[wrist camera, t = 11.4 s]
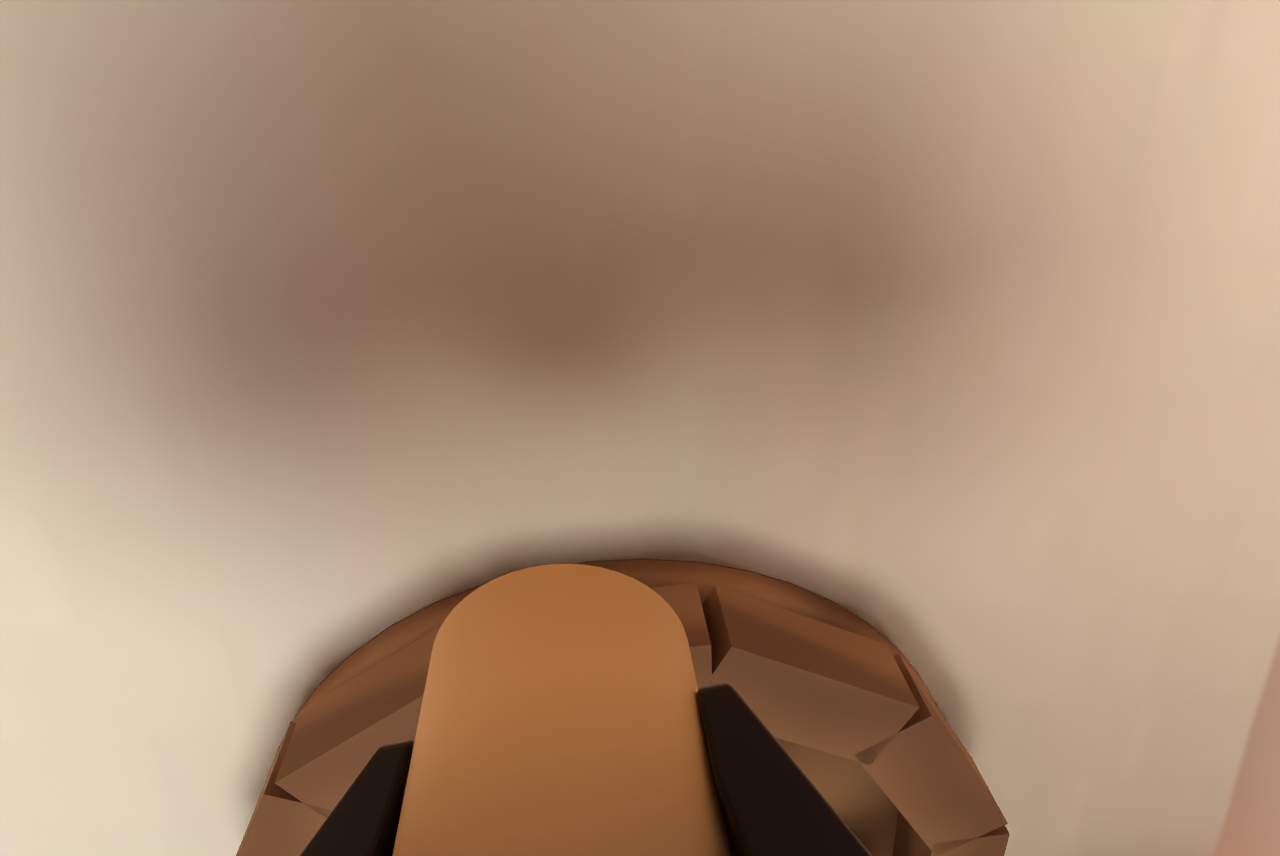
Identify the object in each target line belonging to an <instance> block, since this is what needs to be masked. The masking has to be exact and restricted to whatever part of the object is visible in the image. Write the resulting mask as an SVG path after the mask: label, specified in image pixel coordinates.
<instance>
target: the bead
mask: <svg viewBox="0 0 1280 856" xmlns="http://www.w3.org/2000/svg"><path fill="white" fill-rule="evenodd" d="M697 691H698V687H697V682H696V677H695V673H694V668H693V663H692V658H691V653H690V648H689V643H688V639H687V636H686V633H685V630H684V627H683V625H682V623H681V621H680V619H679V617H678V616H677V614H676V613H675V612H674V610H673V609H672V608H671V606H670V605H669V604H668V603H667V602H666V601H665V600H664V599H663V598H662V597H661V596H660V595H659V594H657V593H656V592H655V591H653V590H652V589H651V588H649V587H648V586H647V585H645V584H643V583H641V582H639V581H637V580H636V579H634V578H632V577H629V576H627V575H624V574H622V573H619V572H616V571H613V570H609V569H605V568H602V567H596V566H590V565H583V564H548V565H541V566H535V567H529V568H525V569H521V570H518V571H514V572H511V573H508V574H506V575H503V576H501V577H498V578H496V579H494V580H492V581H490V582H488V583H486V584H484V585H482V586H481V587H479V588H478V589H476V590H475V591H473V592H472V593H471V594H469V595H468V596H466V597H465V598H464V599H463V600H462V601H461V602H460V603H459V604H458V605H457V606H456V607H455V608H454V609H453V610H452V611H451V613H450V614H449V615H448V616H447V617H446V619H445V620H444V622H443V624H442V626H441V627H440V629H439V631H438V633H437V636H436V638H435V641H434V644H433V649H432V654H431V659H430V664H429V669H428V674H427V680H426V685H425V690H424V695H423V700H422V705H421V711H420V716H419V721H418V726H417V731H416V736H415V742H414V747H413V752H412V757H411V762H410V767H409V773H408V778H407V783H406V788H405V793H404V798H403V804H402V809H401V814H400V819H399V824H398V829H397V835H396V840H395V845H394V850H393V855H392V856H732V853H731V848H730V843H729V839H728V835H727V831H726V827H725V823H724V820H723V816H722V812H721V808H720V804H719V800H718V796H717V792H716V788H715V783H714V778H713V773H712V769H711V764H710V759H709V754H708V749H707V744H706V739H705V734H704V729H703V724H702V719H701V714H700V709H699V704H698V699H697Z"/></svg>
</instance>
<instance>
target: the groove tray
mask: <svg viewBox="0 0 1280 856" xmlns="http://www.w3.org/2000/svg"><path fill="white" fill-rule="evenodd" d="M578 564H583V565H590V566H596V567H602V568H605V569H609V570H613V571H616V572H619V573H622V574H624V575H627V576H629V577H632V578H634V579H636V580H637V581H639V582H641V583H643V584H645V585H647V586H648V587H649V588H651V589H652V590H653V591H655V592H656V593H657V594H659V595H660V596H661V597H662V598H663V599H664V600H665V601H666V602H667V603H668V604H669V605H670V606H671V608H672V609H673V610H674V612H675V613H676V614H677V616H678V617H679V619H680V621H681V623H682V625H683V627H684V630H685V633H686V636H687V639H688V643H689V648H690V653H691V658H692V663H693V668H694V673H695V677H696V682H697V687H698V689H699V688H701V687H704V686H710V685H715V684H721V683H728V684H730V685H731V686H733V687H734V688H735V690H736V691H737V692H738V693H739V695H740V696H741V697H742V698H743V699H744V701H745V702H746V703H747V704H748V705H749V707H750V708H751V709H752V710H753V712H754V713H755V714H756V715H757V716H758V718H759V719H760V720H761V721H762V722H763V724H764V725H765V726H766V727H767V729H768V730H769V731H770V732H771V733H772V735H773V736H774V737H775V738H776V740H777V741H778V742H779V743H780V744H781V746H782V747H783V748H784V749H785V750H786V752H787V753H788V754H789V755H790V757H791V758H792V759H793V760H794V761H795V763H796V764H797V765H798V766H799V767H800V769H801V770H802V771H803V772H804V774H805V775H806V776H807V777H808V778H809V780H810V781H811V782H812V783H813V785H814V786H815V787H816V788H817V789H818V791H819V792H820V793H821V794H822V795H823V797H824V798H825V799H826V800H827V802H828V803H829V804H830V805H831V806H832V808H833V809H834V810H835V811H836V812H837V814H838V815H839V816H840V817H841V819H842V820H843V821H844V822H845V823H846V825H847V826H848V827H849V828H850V830H851V831H852V832H853V833H854V834H855V836H856V837H857V838H858V839H859V840H860V842H861V843H862V844H863V845H864V847H865V848H866V849H867V850H868V851H869V853H870V854H871V855H872V856H1004V854H1005V850H1006V846H1007V842H1008V838H1009V832H1008V830H1007V828H1006V827H1005V825H1006V824H1008V823H1007V821H1006V820H1005V818H1004V816H1003V814H1002V812H1001V810H1000V809H999V807H998V805H997V803H996V801H995V800H994V798H993V796H992V794H991V792H990V790H989V789H988V787H987V785H986V783H985V781H984V779H983V778H982V776H981V774H980V772H979V770H978V769H977V767H976V765H975V763H974V761H973V759H972V758H971V756H970V755H969V753H968V752H967V750H966V749H965V748H964V746H963V745H962V743H961V742H960V740H959V739H958V737H957V736H956V735H955V733H954V732H953V730H952V729H951V727H950V726H949V725H948V723H947V722H946V720H945V719H944V717H943V716H942V714H941V713H940V711H939V710H938V708H937V706H936V704H935V702H934V700H933V699H932V697H931V695H930V693H929V691H928V690H927V688H926V686H925V684H924V683H923V681H922V679H921V677H920V675H919V674H918V673H917V671H916V670H915V669H914V668H913V667H912V665H911V664H910V663H909V662H908V661H907V659H906V658H905V657H904V656H903V655H902V653H901V652H900V651H899V650H898V649H897V647H895V646H894V645H893V644H892V643H891V642H889V641H888V640H887V639H886V638H885V637H884V636H882V635H881V634H880V633H879V632H878V631H876V630H875V629H874V628H873V627H872V626H871V625H869V624H868V623H867V622H865V621H864V620H862V619H860V618H859V617H857V616H855V615H854V614H852V613H850V612H849V611H847V610H846V609H844V608H842V607H841V606H839V605H837V604H836V603H834V602H832V601H830V600H828V599H826V598H823V597H821V596H819V595H816V594H814V593H812V592H809V591H807V590H805V589H803V588H800V587H798V586H796V585H793V584H791V583H787V582H784V581H780V580H777V579H774V578H770V577H767V576H763V575H760V574H756V573H753V572H749V571H746V570H740V569H734V568H728V567H722V566H716V565H710V564H704V563H698V562H686V561H667V560H649V559H635V560H616V561H597V562H585V563H578ZM483 585H484V584H483ZM481 586H482V585H480V586H477V587H475V588H472V589H470V590H467V591H465V592H462V593H459V594H457V595H454V596H452V597H449V598H447V599H444V600H442V601H439V602H437V603H434V604H432V605H430V606H428V607H426V608H424V609H423V610H421V611H419V612H417V613H415V614H413V615H411V616H410V617H408V618H406V619H404V620H402V621H400V622H398V623H396V624H395V625H393V626H391V627H389V628H388V629H386V630H385V631H384V632H382V633H381V634H379V635H378V636H376V637H375V638H374V639H372V640H371V641H369V642H368V643H367V644H365V645H364V646H362V647H361V648H360V649H358V650H357V651H355V652H354V653H353V654H351V655H350V656H349V657H348V658H347V659H346V660H345V661H344V662H343V663H342V664H341V665H340V666H339V667H338V668H336V669H335V670H334V671H333V672H332V673H331V674H330V675H329V676H328V677H327V678H326V679H325V680H324V681H323V682H322V683H321V684H320V685H319V686H318V687H317V689H316V690H315V691H314V693H313V694H312V695H311V696H310V698H309V699H308V700H307V702H306V703H305V704H304V706H303V707H302V708H301V709H300V711H299V712H298V713H297V715H296V716H295V718H294V720H293V722H291V723H290V725H289V728H288V730H287V733H286V735H285V737H284V739H283V741H282V743H281V745H280V747H279V749H278V752H277V754H276V757H275V760H274V762H273V765H272V767H271V770H270V773H269V775H268V778H267V781H266V783H265V786H264V789H263V791H262V793H261V796H260V798H259V801H258V803H257V806H256V808H255V810H254V813H253V815H252V818H251V820H250V823H249V825H248V827H247V830H246V832H245V835H244V837H243V840H242V842H241V844H240V847H239V850H238V852H237V855H236V856H299V855H300V854H301V852H302V851H303V849H304V848H305V847H306V845H307V844H308V843H309V841H310V840H311V838H312V837H313V836H314V834H315V833H316V832H317V830H318V829H319V828H320V826H321V825H322V823H323V822H324V821H325V819H326V818H327V817H328V815H329V814H330V812H331V811H332V810H333V808H334V807H335V806H336V804H337V803H338V802H339V800H340V799H341V797H342V796H343V795H344V793H345V792H346V791H347V789H348V788H349V786H350V785H351V784H352V782H353V781H354V780H355V778H356V777H357V776H358V774H359V773H360V771H361V770H362V769H363V767H364V766H365V765H366V763H367V762H368V761H369V759H370V758H371V756H372V755H373V754H374V752H375V751H376V750H377V749H378V748H379V747H380V746H382V745H384V744H389V743H395V742H400V741H406V740H413V741H415V736H416V731H417V726H418V721H419V716H420V711H421V705H422V700H423V695H424V690H425V685H426V680H427V674H428V669H429V664H430V659H431V654H432V649H433V644H434V641H435V638H436V636H437V633H438V631H439V629H440V627H441V626H442V624H443V622H444V620H445V619H446V617H447V616H448V615H449V614H450V613H451V611H452V610H453V609H454V608H455V607H456V606H457V605H458V604H459V603H460V602H461V601H462V600H463V599H464V598H465V597H466V596H468V595H469V594H471V593H472V592H473V591H475V590H476V589H478V588H479V587H481Z"/></svg>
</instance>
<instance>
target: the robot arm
mask: <svg viewBox="0 0 1280 856" xmlns="http://www.w3.org/2000/svg"><path fill="white" fill-rule="evenodd" d="M697 699H698V704H699V709H700V714H701V719H702V724H703V729H704V734H705V739H706V744H707V749H708V754H709V759H710V764H711V769H712V773H713V778H714V783H715V788H716V792H717V796H718V800H719V804H720V808H721V812H722V816H723V820H724V823H725V827H726V831H727V835H728V839H729V843H730V848H731V853H732V856H872V855H871V854H870V853H869V851H868V850H867V849H866V848H865V847H864V845H863V844H862V843H861V842H860V840H859V839H858V838H857V837H856V836H855V834H854V833H853V832H852V831H851V830H850V828H849V827H848V826H847V825H846V823H845V822H844V821H843V820H842V819H841V817H840V816H839V815H838V814H837V812H836V811H835V810H834V809H833V808H832V806H831V805H830V804H829V803H828V802H827V800H826V799H825V798H824V797H823V795H822V794H821V793H820V792H819V791H818V789H817V788H816V787H815V786H814V785H813V783H812V782H811V781H810V780H809V778H808V777H807V776H806V775H805V774H804V772H803V771H802V770H801V769H800V767H799V766H798V765H797V764H796V763H795V761H794V760H793V759H792V758H791V757H790V755H789V754H788V753H787V752H786V750H785V749H784V748H783V747H782V746H781V744H780V743H779V742H778V741H777V740H776V738H775V737H774V736H773V735H772V733H771V732H770V731H769V730H768V729H767V727H766V726H765V725H764V724H763V722H762V721H761V720H760V719H759V718H758V716H757V715H756V714H755V713H754V712H753V710H752V709H751V708H750V707H749V705H748V704H747V703H746V702H745V701H744V699H743V698H742V697H741V696H740V695H739V693H738V692H737V691H736V690H735V688H734V687H733V686H731V685H730V684H728V683H721V684H715V685H710V686H704V687H701V688H699V689H698V691H697ZM414 742H415V741H413V740H406V741H400V742H395V743H389V744H384V745H382V746H380V747H379V748H378V749H377V750H376V751H375V752H374V754H373V755H372V756H371V758H370V759H369V761H368V762H367V763H366V765H365V766H364V767H363V769H362V770H361V771H360V773H359V774H358V776H357V777H356V778H355V780H354V781H353V782H352V784H351V785H350V786H349V788H348V789H347V791H346V792H345V793H344V795H343V796H342V797H341V799H340V800H339V802H338V803H337V804H336V806H335V807H334V808H333V810H332V811H331V812H330V814H329V815H328V817H327V818H326V819H325V821H324V822H323V823H322V825H321V826H320V828H319V829H318V830H317V832H316V833H315V834H314V836H313V837H312V838H311V840H310V841H309V843H308V844H307V845H306V847H305V848H304V849H303V851H302V852H301V854H300V855H299V856H392V855H393V850H394V845H395V840H396V835H397V829H398V824H399V819H400V814H401V809H402V804H403V798H404V793H405V788H406V783H407V778H408V773H409V767H410V762H411V757H412V752H413V747H414Z"/></svg>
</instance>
